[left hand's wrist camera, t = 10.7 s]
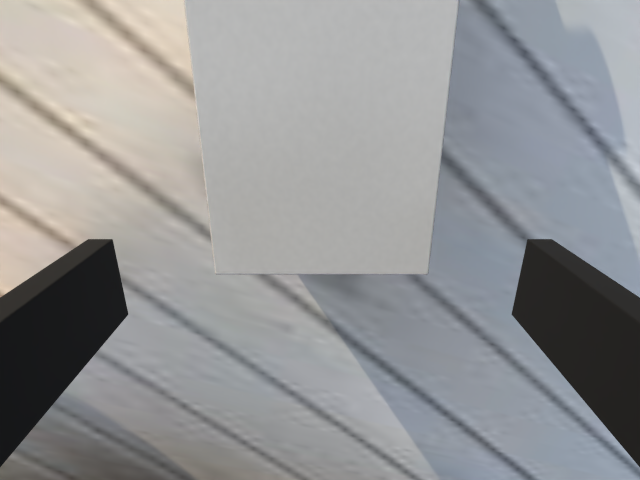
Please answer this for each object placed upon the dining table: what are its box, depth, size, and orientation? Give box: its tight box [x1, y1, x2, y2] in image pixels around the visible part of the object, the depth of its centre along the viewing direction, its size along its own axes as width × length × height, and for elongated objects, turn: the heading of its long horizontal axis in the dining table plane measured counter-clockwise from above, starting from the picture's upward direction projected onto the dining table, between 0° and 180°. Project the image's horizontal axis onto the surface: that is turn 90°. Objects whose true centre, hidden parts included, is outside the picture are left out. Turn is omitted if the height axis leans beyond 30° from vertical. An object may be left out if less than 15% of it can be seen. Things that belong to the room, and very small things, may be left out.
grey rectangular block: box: [184, 0, 459, 275], centre depth 20 cm, size 20×10×11 cm, turn 0°
